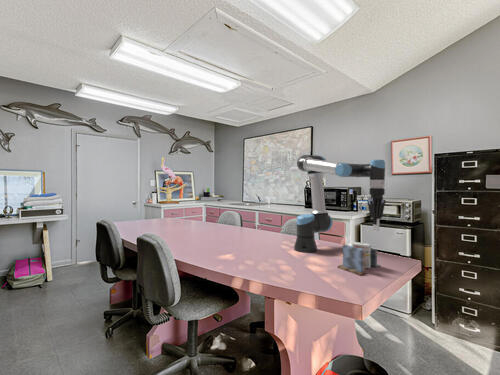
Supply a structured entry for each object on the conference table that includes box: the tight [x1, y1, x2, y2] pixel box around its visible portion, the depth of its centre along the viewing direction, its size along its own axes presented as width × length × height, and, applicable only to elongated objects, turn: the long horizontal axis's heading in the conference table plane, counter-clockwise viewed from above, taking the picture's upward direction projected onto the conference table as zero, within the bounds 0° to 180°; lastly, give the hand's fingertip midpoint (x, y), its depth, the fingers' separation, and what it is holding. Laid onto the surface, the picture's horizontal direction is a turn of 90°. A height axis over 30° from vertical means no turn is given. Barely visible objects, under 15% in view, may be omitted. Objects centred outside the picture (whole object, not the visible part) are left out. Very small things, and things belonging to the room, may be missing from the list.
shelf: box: [337, 244, 368, 277], centre depth 138 cm, size 14×27×12 cm, turn 119°
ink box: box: [351, 241, 372, 269], centre depth 136 cm, size 9×5×12 cm, turn 59°
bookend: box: [371, 247, 382, 268], centre depth 139 cm, size 10×4×9 cm, turn 29°
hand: (376, 230), depth 145 cm, fingers closed
